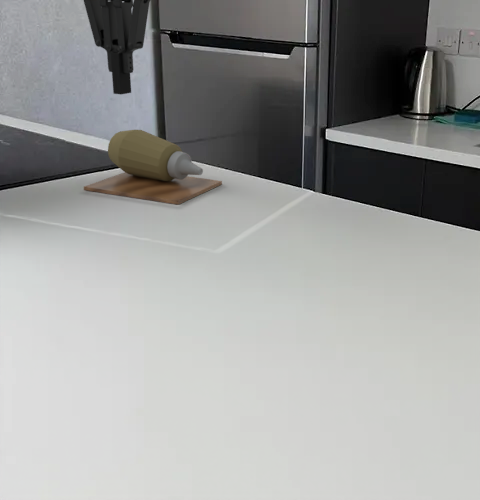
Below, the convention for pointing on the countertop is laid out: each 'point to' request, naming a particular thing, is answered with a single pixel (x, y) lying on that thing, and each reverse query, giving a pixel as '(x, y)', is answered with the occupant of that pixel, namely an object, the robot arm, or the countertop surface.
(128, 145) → the squeeze bottle
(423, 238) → the countertop surface
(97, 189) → the wooden board
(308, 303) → the countertop surface
